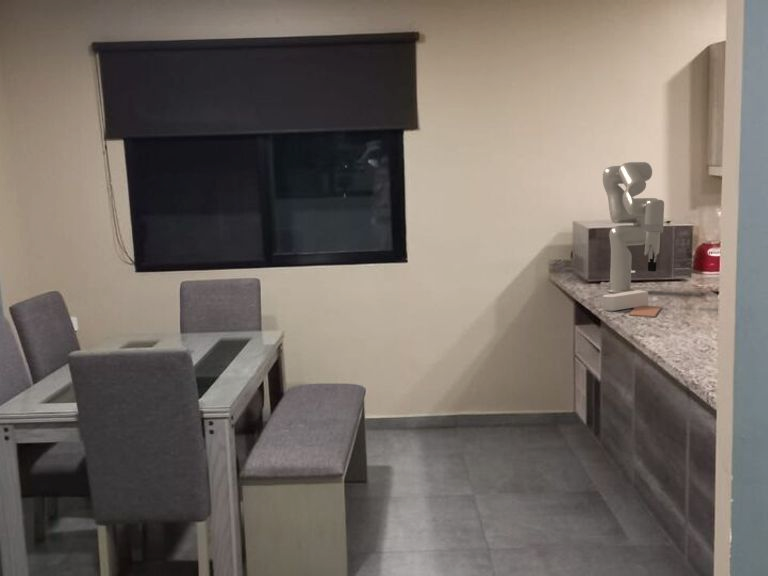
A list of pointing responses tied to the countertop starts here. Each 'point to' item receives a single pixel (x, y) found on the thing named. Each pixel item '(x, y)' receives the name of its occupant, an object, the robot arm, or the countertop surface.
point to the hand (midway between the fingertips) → (651, 270)
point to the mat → (645, 311)
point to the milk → (624, 300)
